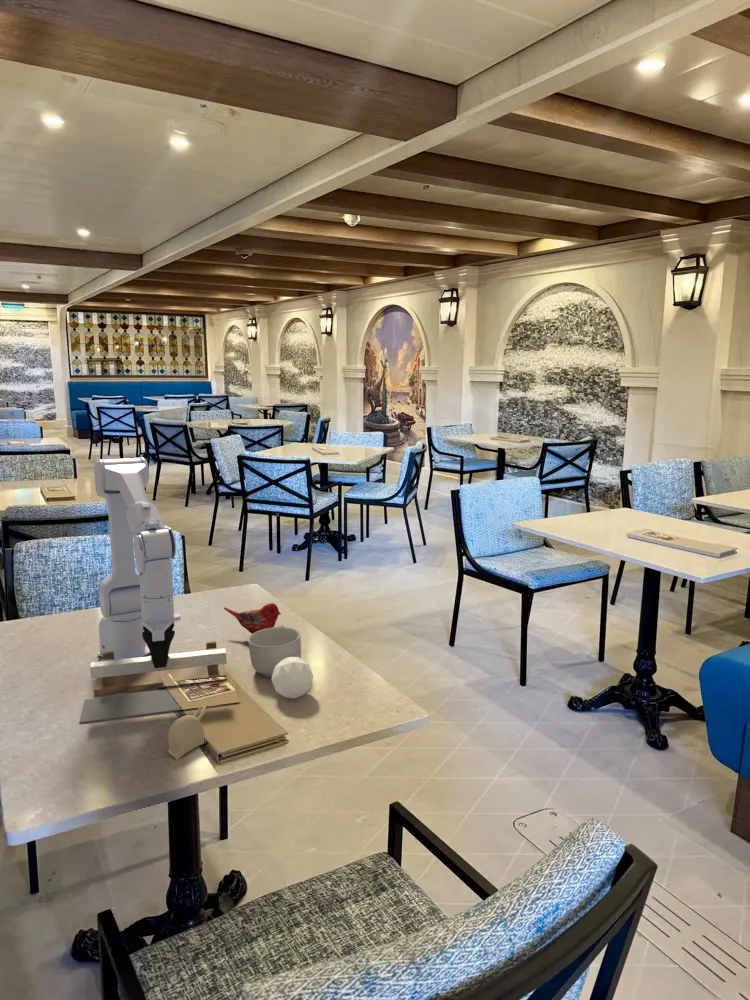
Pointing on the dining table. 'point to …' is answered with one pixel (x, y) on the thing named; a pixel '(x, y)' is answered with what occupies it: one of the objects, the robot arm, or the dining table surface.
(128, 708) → the mat
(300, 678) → the geometric ball
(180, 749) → the decorative ornament
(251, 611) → the decorative bird figurine
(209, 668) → the hook stands
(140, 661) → the steel bar
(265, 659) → the teacup
